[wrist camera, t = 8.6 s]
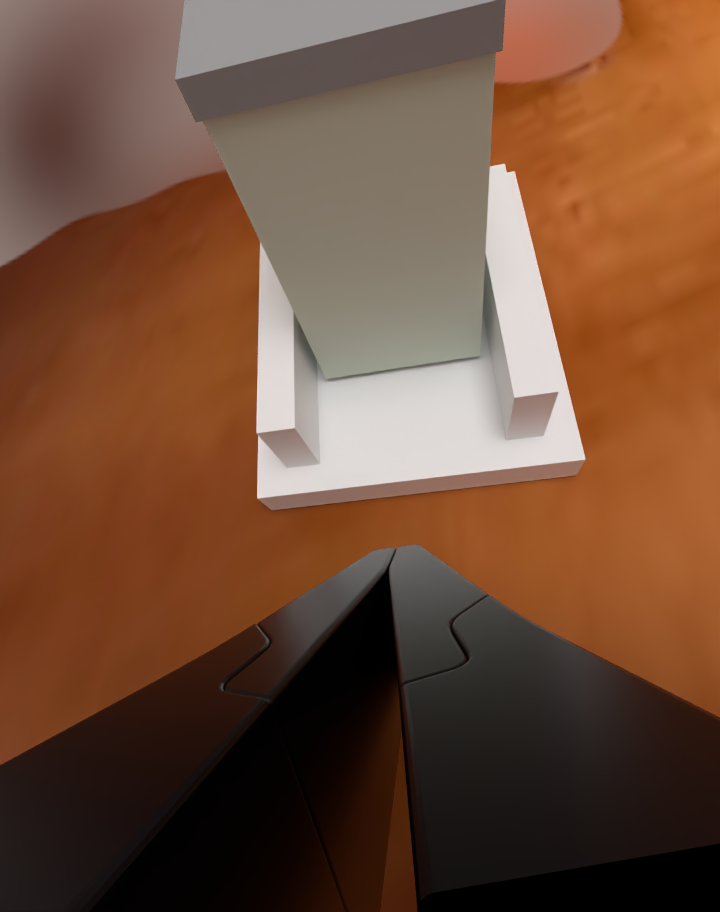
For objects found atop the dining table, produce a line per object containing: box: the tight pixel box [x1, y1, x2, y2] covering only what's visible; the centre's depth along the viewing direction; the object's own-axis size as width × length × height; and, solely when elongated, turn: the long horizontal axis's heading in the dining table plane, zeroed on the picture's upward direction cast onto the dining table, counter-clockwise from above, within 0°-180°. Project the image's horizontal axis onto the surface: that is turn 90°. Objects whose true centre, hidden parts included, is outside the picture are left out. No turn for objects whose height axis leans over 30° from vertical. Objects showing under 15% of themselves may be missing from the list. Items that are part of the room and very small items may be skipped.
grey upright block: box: [175, 0, 506, 379], centre depth 15 cm, size 5×6×11 cm
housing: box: [257, 164, 585, 510], centre depth 19 cm, size 13×11×4 cm
